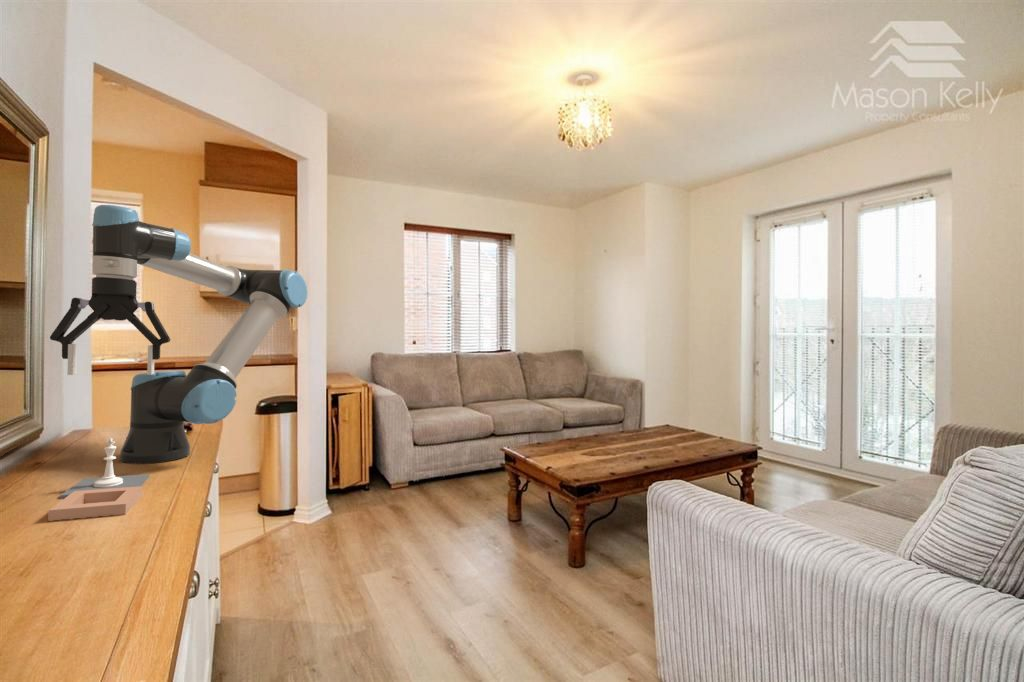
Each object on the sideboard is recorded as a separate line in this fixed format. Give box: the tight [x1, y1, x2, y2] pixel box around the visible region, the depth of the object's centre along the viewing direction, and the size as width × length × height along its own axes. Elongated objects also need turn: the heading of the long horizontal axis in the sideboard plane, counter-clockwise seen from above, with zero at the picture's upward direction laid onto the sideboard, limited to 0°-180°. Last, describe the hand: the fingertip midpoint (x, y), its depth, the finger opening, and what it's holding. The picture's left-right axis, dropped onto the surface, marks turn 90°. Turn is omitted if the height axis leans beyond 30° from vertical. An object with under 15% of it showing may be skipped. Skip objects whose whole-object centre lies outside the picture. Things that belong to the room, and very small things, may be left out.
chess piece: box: [94, 437, 123, 487], centre depth 103 cm, size 5×5×10 cm
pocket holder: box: [47, 485, 144, 522], centre depth 91 cm, size 11×11×2 cm
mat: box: [59, 473, 151, 499], centre depth 103 cm, size 12×12×1 cm
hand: (112, 374), depth 104 cm, fingers open, 13 cm apart
